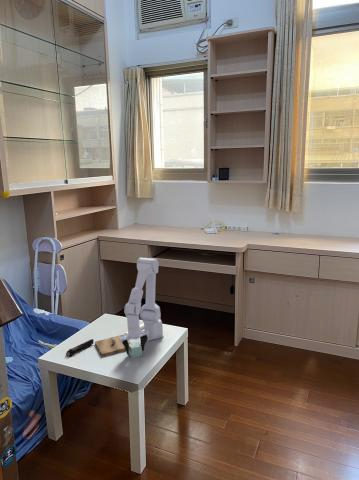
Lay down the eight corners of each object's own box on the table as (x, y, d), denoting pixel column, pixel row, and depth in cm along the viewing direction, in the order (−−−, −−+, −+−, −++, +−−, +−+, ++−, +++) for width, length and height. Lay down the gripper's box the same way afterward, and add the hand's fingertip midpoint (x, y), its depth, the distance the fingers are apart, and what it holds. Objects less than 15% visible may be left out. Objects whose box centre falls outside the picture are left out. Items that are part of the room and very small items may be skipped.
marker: (147, 327, 205) (126, 337, 193) (145, 324, 206) (124, 334, 194) (149, 324, 204) (128, 334, 192) (146, 321, 205) (125, 331, 193)
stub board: (124, 336, 192) (123, 330, 191) (133, 348, 180) (132, 341, 179) (95, 344, 185) (94, 337, 184) (102, 356, 173) (101, 349, 172)
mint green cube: (138, 350, 177) (137, 341, 176) (141, 355, 173) (141, 346, 172) (128, 353, 175) (128, 344, 174) (132, 358, 171) (131, 348, 170)
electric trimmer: (95, 345, 185) (95, 339, 184) (69, 357, 173) (69, 351, 173) (91, 343, 187) (90, 337, 187) (65, 355, 176) (64, 349, 175)
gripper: (121, 333, 164) (123, 359, 167) (150, 326, 170) (151, 351, 173) (117, 327, 170) (119, 352, 173) (145, 320, 177) (146, 345, 180)
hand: (135, 351), depth 174 cm, fingers open, 7 cm apart
